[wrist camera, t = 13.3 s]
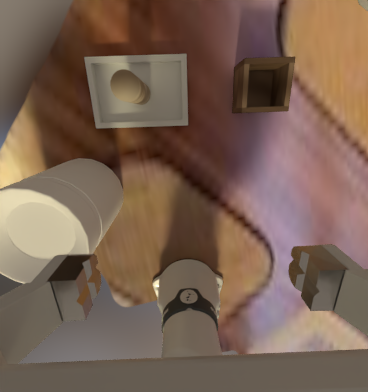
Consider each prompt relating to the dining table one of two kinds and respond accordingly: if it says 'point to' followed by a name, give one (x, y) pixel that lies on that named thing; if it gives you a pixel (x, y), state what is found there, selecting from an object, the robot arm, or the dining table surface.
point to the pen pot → (262, 84)
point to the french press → (364, 4)
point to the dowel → (129, 87)
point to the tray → (153, 77)
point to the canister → (56, 215)
